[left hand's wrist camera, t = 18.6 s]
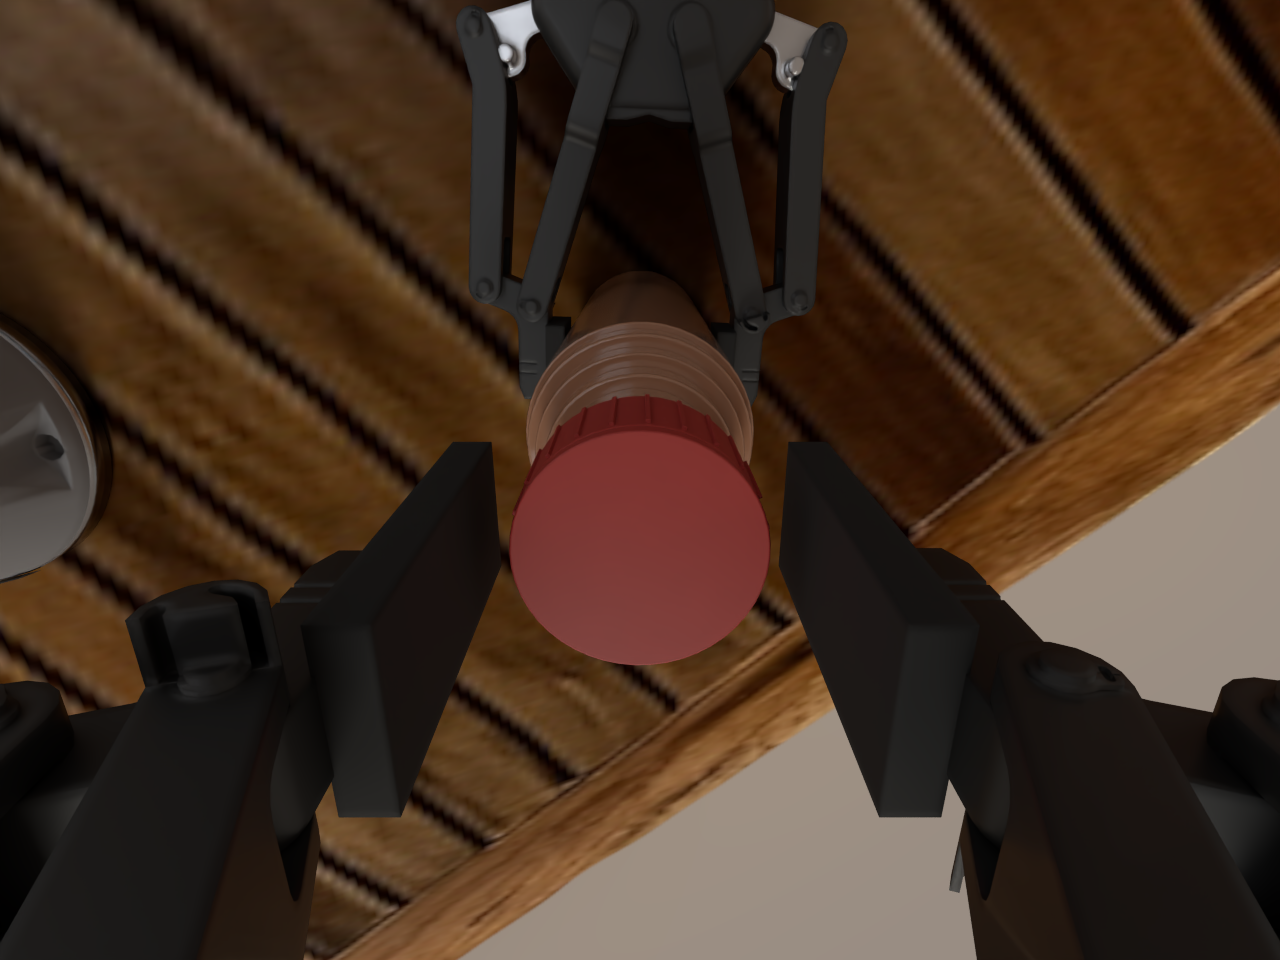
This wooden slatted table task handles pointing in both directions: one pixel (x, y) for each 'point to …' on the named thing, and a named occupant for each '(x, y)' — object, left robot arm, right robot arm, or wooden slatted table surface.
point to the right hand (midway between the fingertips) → (635, 472)
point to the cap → (639, 532)
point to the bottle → (640, 360)
